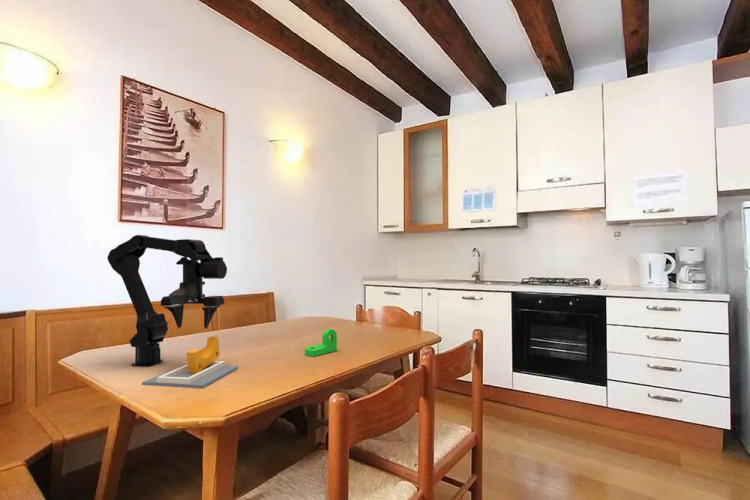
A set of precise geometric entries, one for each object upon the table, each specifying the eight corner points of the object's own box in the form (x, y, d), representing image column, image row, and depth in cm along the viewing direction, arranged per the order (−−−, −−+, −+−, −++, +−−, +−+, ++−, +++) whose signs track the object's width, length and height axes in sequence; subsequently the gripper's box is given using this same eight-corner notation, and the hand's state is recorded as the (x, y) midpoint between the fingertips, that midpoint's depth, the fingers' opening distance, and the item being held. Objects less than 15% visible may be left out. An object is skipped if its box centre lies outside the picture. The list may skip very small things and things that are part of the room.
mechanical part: (325, 347, 148) (325, 326, 148) (336, 350, 144) (336, 328, 144) (301, 354, 138) (301, 331, 139) (312, 356, 135) (312, 333, 135)
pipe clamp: (207, 355, 125) (205, 336, 124) (220, 356, 124) (218, 336, 123) (183, 373, 113) (181, 352, 112) (197, 373, 112) (194, 352, 111)
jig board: (141, 385, 105) (142, 377, 105) (184, 366, 123) (184, 359, 123) (203, 388, 102) (203, 379, 102) (237, 368, 120) (237, 361, 120)
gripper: (147, 280, 117) (147, 332, 117) (204, 280, 114) (204, 333, 114) (172, 278, 128) (172, 325, 128) (225, 278, 125) (225, 326, 125)
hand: (192, 328), depth 124 cm, fingers open, 9 cm apart
